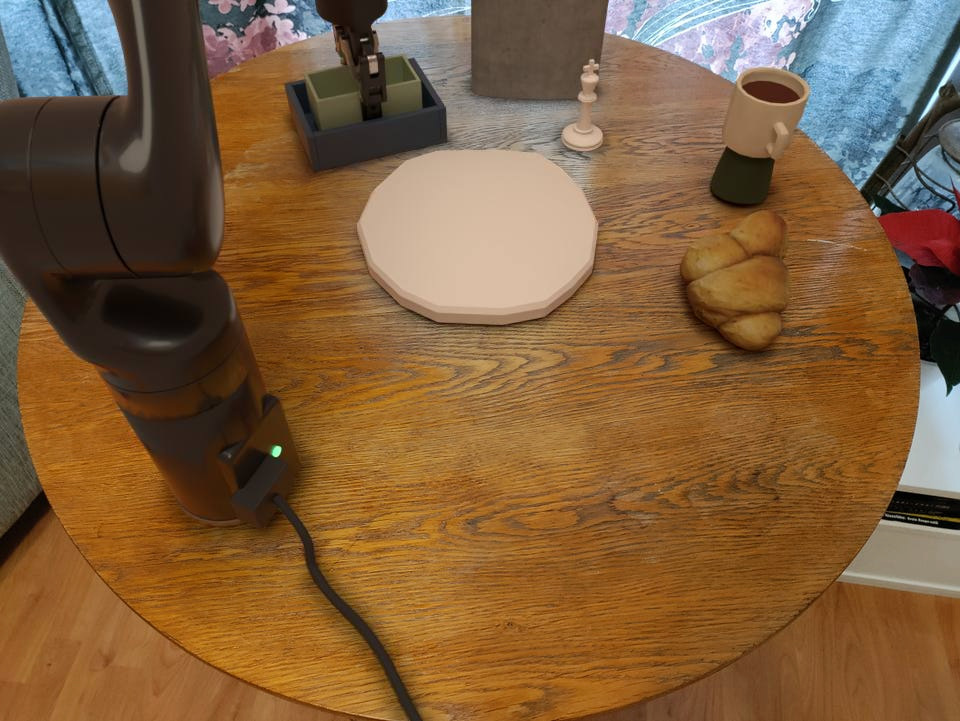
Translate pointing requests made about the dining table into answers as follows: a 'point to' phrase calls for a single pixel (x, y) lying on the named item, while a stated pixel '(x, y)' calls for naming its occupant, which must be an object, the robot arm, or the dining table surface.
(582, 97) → the chess piece
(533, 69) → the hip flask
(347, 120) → the small bin
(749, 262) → the bread roll
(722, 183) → the character mug
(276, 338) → the dining table surface
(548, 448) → the dining table surface
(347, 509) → the dining table surface
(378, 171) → the dining table surface
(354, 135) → the big bin
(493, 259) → the decorative plate
